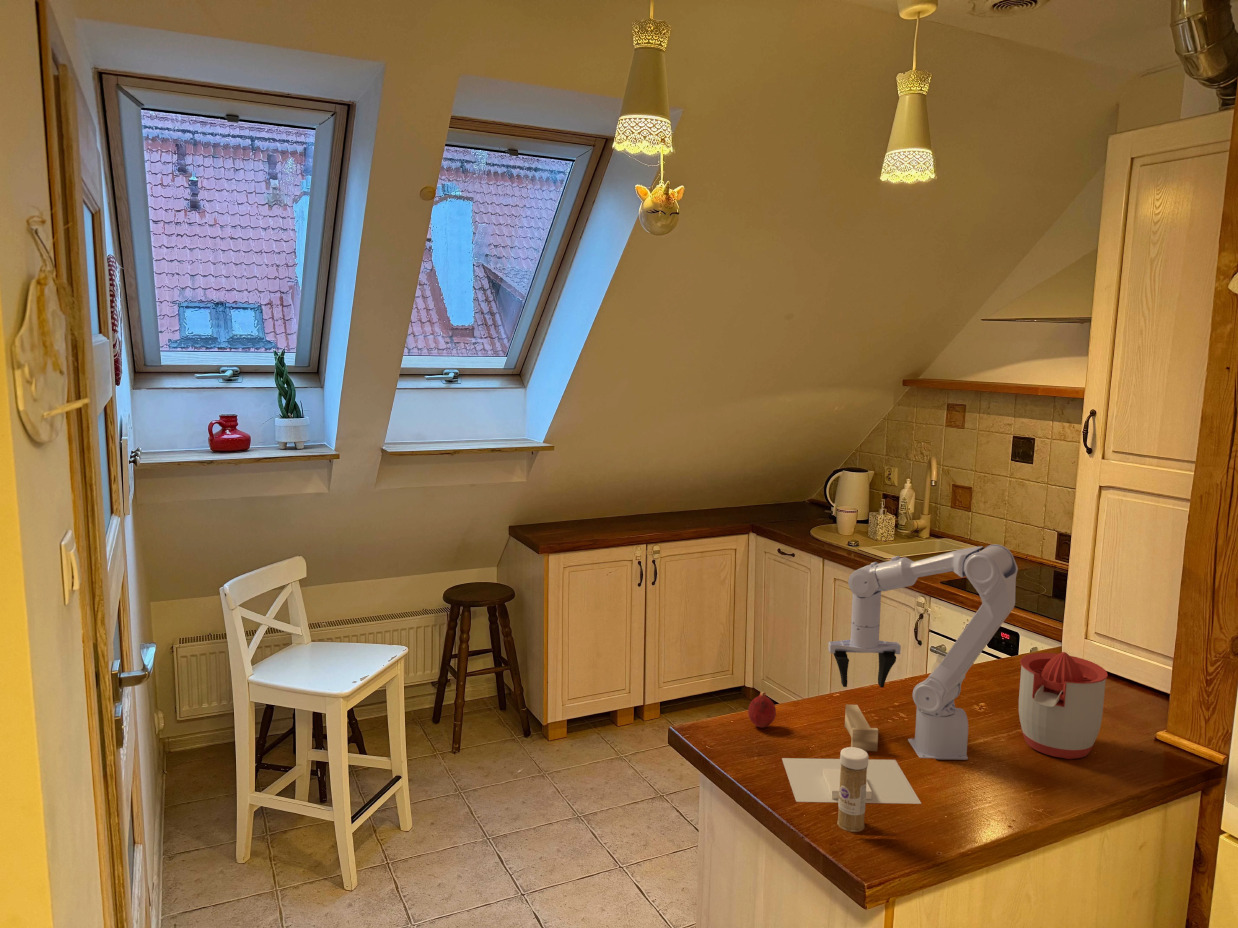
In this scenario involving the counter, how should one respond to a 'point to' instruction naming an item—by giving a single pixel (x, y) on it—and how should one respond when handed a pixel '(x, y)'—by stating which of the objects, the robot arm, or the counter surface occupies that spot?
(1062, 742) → the citrus juicer
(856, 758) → the sprinkles bottle
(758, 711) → the onion
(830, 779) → the tile
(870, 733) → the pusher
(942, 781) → the counter surface
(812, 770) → the mat
